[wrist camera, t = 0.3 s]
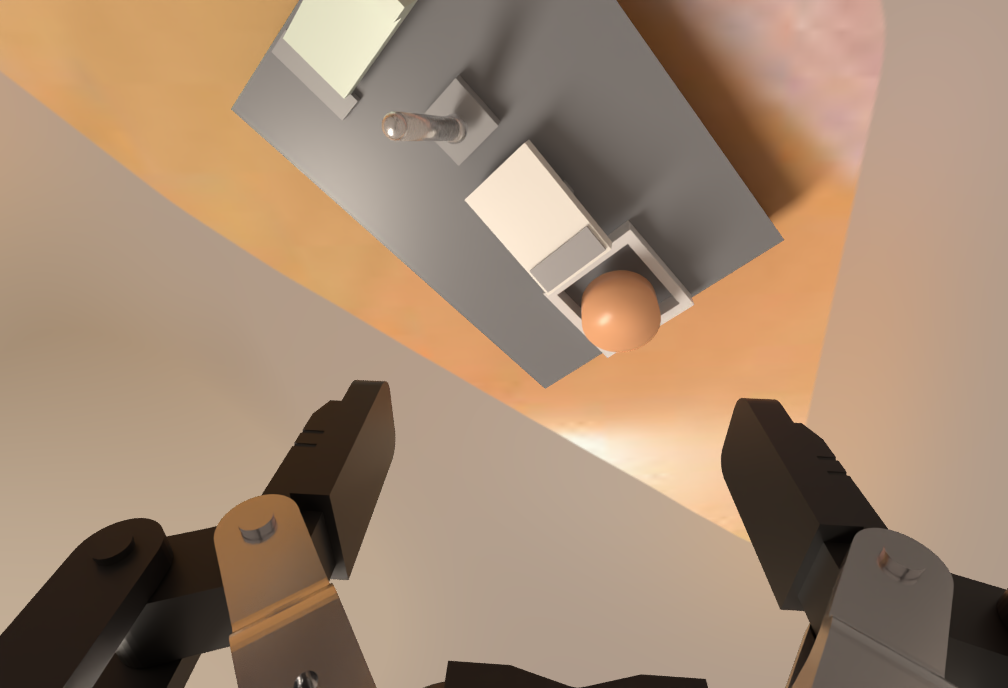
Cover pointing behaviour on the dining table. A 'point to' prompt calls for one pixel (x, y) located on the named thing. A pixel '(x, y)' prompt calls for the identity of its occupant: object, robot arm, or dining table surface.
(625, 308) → the push button
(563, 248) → the rocker switch
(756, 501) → the robot arm
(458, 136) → the toggle lever
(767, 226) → the control panel
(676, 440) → the dining table surface
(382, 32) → the paddle switch
